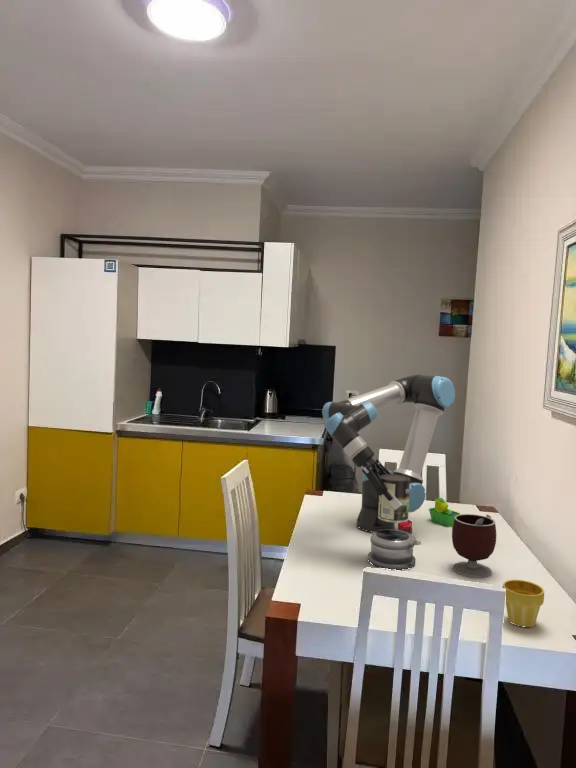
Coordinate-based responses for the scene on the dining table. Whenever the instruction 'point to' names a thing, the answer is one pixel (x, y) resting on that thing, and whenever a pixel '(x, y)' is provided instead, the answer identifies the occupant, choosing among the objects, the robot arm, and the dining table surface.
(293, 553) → the dining table surface
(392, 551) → the cylinder
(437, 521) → the fruit basket
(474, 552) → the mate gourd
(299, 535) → the dining table surface
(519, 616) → the plant pot
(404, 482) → the coffee can
